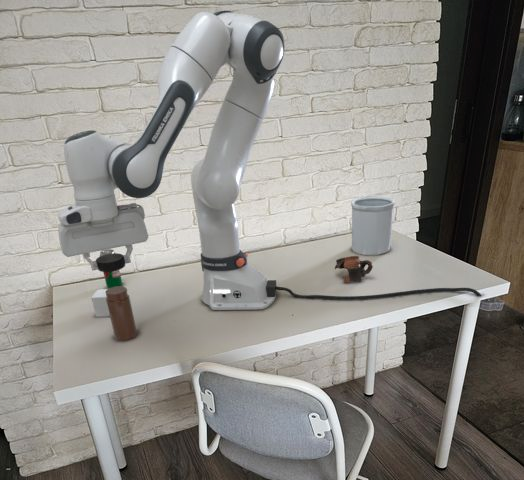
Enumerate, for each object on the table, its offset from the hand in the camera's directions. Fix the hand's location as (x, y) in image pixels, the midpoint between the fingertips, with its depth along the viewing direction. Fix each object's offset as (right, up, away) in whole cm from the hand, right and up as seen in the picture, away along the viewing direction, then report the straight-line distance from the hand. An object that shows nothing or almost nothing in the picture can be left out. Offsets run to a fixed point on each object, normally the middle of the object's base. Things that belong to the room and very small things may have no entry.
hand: (111, 266), depth 117 cm
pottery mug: (+66, +2, +36) cm, 75 cm away
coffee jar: (+1, -17, +10) cm, 19 cm away
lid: (0, +1, -1) cm, 2 cm away
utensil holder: (+77, +16, +59) cm, 98 cm away
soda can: (-12, 0, +41) cm, 43 cm away
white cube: (-8, -10, +24) cm, 27 cm away
